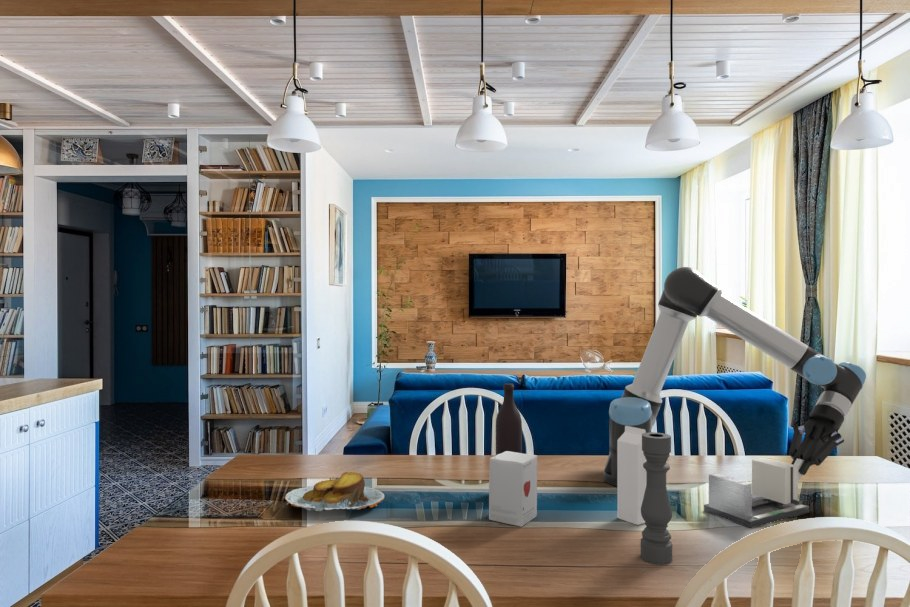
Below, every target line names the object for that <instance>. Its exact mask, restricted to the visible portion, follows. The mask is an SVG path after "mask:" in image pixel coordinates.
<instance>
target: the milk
mask: <svg viewBox="0 0 910 607" xmlns="http://www.w3.org/2000/svg"><path fill="white" fill-rule="evenodd" d="M643 433H646V430H645V429H640V428H635V427H630V426H625V432H624V433H623V434H622V436H621V437H620V438H619V439H618V440H617V486H616V488H617V490H616V492H617V493H616V494H617V495H616V496H617V499H616V500H617V501H616V502H617V506H616V508H617V511H616V513H617V516H616V518H617V519H619V520H622V521H624V522H628V523H630V524H633V525H636V526H640V525H642V524H643V525H644V524H645V521H644V520H643V518H642V515H641V505H642V501H643V497H644V493H645V489H646V469H644V467H643V463H645V462H646V461H647V460H646V459H645V456H644V454H643V451H642V434H643Z"/></svg>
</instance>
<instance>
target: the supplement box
mask: <svg viewBox="0 0 910 607" xmlns="http://www.w3.org/2000/svg"><path fill="white" fill-rule="evenodd" d="M488 469H489V470H488V473H489V474H488V476H489V477H488V478H489V480H488V483H489V484H488V520H490V521H494V522H497V523H498V522H499V523H503V524H508V525H511V526H512V525H513V526H516V527H521V528H522V527H523V526H524V525H526V524H528V523H529V522H530V521H532V520H533V519H534V518H536V517H537V516H538V455H536V454H529V453H523V452H522V453H517V452H511V451H505V452H503V453H501V454H498V455H496V454H495V455H494V456H492V457H489V466H488Z"/></svg>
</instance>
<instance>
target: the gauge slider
mask: <svg viewBox="0 0 910 607" xmlns="http://www.w3.org/2000/svg"><path fill="white" fill-rule="evenodd" d="M751 469H752V470H751V471H752V472H751V484H752V494H754V495H757V496H760V497H764V498H767V499H770V500H773V501H776V502H780V503H783V504H788V503H792V504H795V505H799V504H800V501H799V493H798V492H799V482H798V466H797V465H793V464H791V463H788V462H785V461H779V460H777V459H772V458H768V457H760V458H754V459H752V460H751Z"/></svg>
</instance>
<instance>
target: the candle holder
mask: <svg viewBox="0 0 910 607" xmlns="http://www.w3.org/2000/svg"><path fill="white" fill-rule="evenodd" d="M642 451H643V454H644V456H645V459H646V460H647V461H646V462H645V463H643V467H644V469H646V489H645V493H644V497H643V501H642V505H641V515H642V518H643V520H644V521H645V523H644V524H645V528H644V529H643V530H642V531H641V537H642V538H640V558H641V560H643V561H644V562H646V563H648V564H649V563H650V564H653V565H661V566H662V565H669V564H672V562H673V542H672V541H671V539H672V535H671V533H670V532H669V530H668V529H667V528H668V527H669V525H668V524H669V523H670V522H671V520H672V517H673V509H672V507H671V502H670V497H669V493H668V490H667V473H668V471H669V470H670V468H671V467H670V464H668V463H667V461H668V459H669V458H670V453H672V436H671V435H670V434H667V433H663V432H652V431H651V432H650V433H643V434H642Z"/></svg>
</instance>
